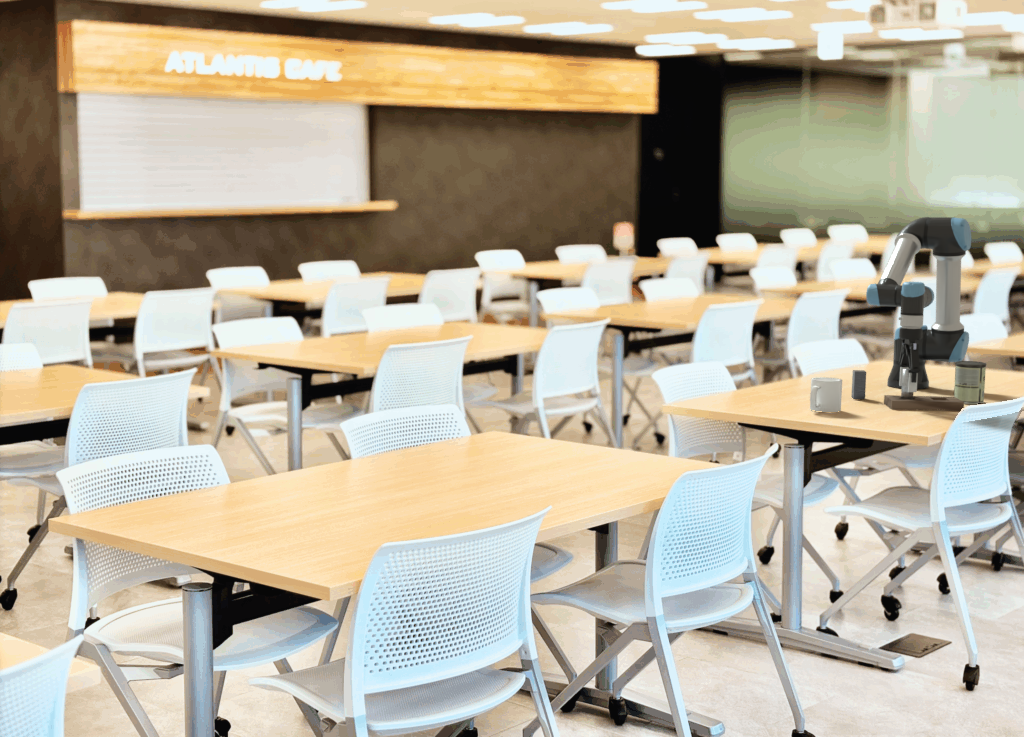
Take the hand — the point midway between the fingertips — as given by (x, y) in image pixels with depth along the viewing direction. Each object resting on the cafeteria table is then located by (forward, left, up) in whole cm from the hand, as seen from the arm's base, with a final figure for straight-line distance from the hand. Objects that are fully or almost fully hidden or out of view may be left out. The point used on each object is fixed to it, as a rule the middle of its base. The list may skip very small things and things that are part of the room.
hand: (907, 389), depth 454 cm
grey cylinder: (0, 0, -6) cm, 6 cm away
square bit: (-16, -14, -6) cm, 22 cm away
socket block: (0, +5, -6) cm, 8 cm away
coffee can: (-14, +24, -7) cm, 29 cm away
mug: (+13, -31, -7) cm, 34 cm away
